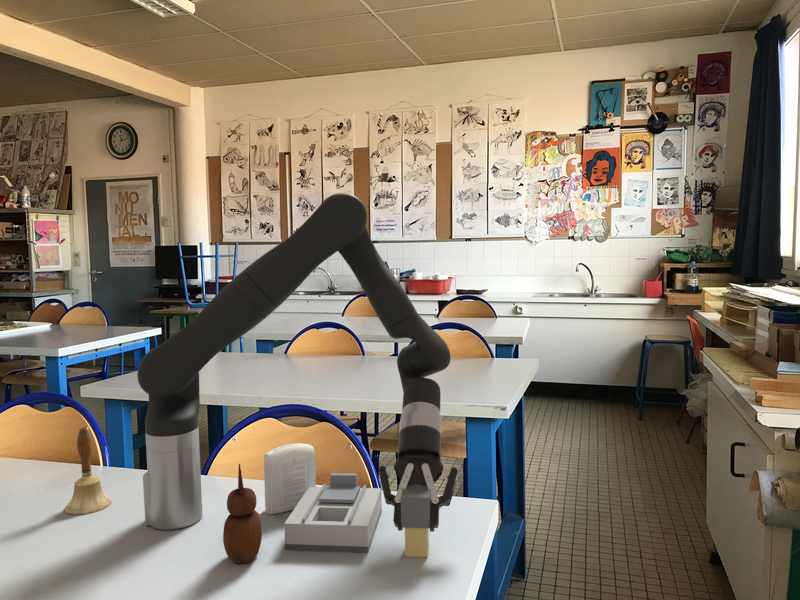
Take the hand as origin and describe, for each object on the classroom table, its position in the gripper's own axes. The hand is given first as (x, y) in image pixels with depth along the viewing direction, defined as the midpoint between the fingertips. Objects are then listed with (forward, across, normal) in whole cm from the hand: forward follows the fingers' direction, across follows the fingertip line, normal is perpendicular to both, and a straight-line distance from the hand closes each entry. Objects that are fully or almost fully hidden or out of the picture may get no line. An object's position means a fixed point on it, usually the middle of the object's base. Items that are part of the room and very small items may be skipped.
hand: (415, 528), depth 97 cm
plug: (+2, 0, +5) cm, 5 cm away
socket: (-3, -15, +10) cm, 18 cm away
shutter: (-9, -15, +9) cm, 20 cm away
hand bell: (-8, -67, +15) cm, 69 cm away
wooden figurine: (+5, -28, +2) cm, 28 cm away
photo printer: (-9, -26, +16) cm, 32 cm away
